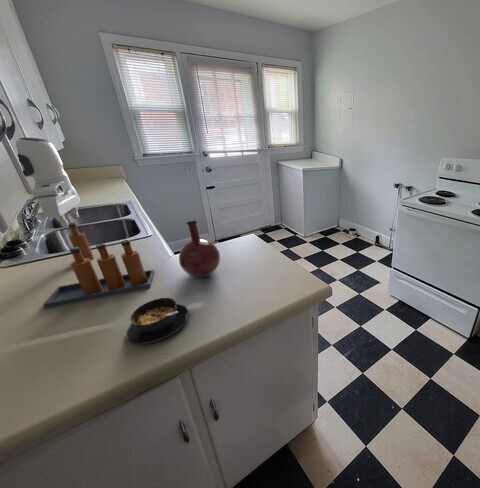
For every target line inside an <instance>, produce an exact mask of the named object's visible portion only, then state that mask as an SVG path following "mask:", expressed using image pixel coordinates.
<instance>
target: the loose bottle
mask: <svg viewBox="0 0 480 488" xmlns="http://www.w3.org/2000/svg"><path fill="white" fill-rule="evenodd" d="M68 223H69V222H68ZM67 227H68V228H69V231H70V232H71V234H69V235H68V238H69V241H70V243H71V245H72V248H74V247H79V248H80V250H81V254H82V256H83V258H89V259H90V261H92V260H94V259H95V256H94V254H93V252H92V249H91V246H90V244H89V242H88V240H87V238H86V235H85V232H82V231H81V232H79V229H78V225H77V223H76V222H70V223H69V225H68V226H67Z"/></svg>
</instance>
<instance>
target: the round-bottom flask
mask: <svg viewBox="0 0 480 488" xmlns="http://www.w3.org/2000/svg"><path fill="white" fill-rule="evenodd" d="M186 225H187V227H188V232H189V235H190V236H189V237H190V239H191V241H188V242H187V243H186V244H184V245H183V247H182V248H181V249H180V251H179V255H178V263H179V266H180V268H181V269H182V270H183V272H184V273H186V274H187V275H189V276H191V277H195V278H202V277H207V276H210V275H211V274H213V273H214V272H215V271H216V270H217V268H218V267H219V265H220V262H221V254H220V251H219V249H218V247H217V246H216V245H215V244H214V243H213V242H211V241H209V240H207V239H201V238H200V233H199V229H198V222H197V220H191V221H188V222H186Z"/></svg>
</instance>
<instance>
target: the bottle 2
mask: <svg viewBox="0 0 480 488" xmlns="http://www.w3.org/2000/svg"><path fill="white" fill-rule="evenodd" d="M95 248H96V250H97V251H98V253H99V257H97V258H96V263H97V265H98V267H99V269H100V272H101V274H102V276H103V279H105V281H106V284H107V286H108V288H109V290H115V289H121V288H123V287H124V286H125V282H124V279H123V276H122V275H123V274H122V271H121V268H120V266H119V264H118V261H117V258H116V256H115V254H109V252H108V249H107V246H106V243H105V242H101V243H97V244H96V245H95Z"/></svg>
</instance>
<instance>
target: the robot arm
mask: <svg viewBox="0 0 480 488" xmlns="http://www.w3.org/2000/svg"><path fill="white" fill-rule="evenodd" d="M15 142H16V147H17V151H18V157H19V161H20V164H21V166H22V169H23V173H24V175H25V176H26V177H25V178H29V177H30V178H32V179H33V180H34V182H35V183H34V186H33V188H32V189H31V193H32V196H33V197H34V198H36V197H37V198H36V199H37V203H38V205H39V208H40V209H41V211H42V212H43V215H45V217H46V218H48V219H56V221H57V222H58V223H59V225H60V226H61V227H63V228H65V227H68V225H69V220H67V219H66V218H65V214H67V213H68V212H70V216H71V219H73V220H75V219H78V218H79V217H80V215H79V209H78V205H80V204H81V198H80V196H79V193H78V192H77V190H76V189H75V187H74V186H73V185H72V183H71V180H70V178H69V176H68V174H67V173H66V171H65V169H64V166H63V165H64V164H63V161H62V159H61V157H60V155H59V153H58V151H57V149H56V148H55V146H54V145H53V144H52V142H50V141H48V140H47V139H45V138H38V137H20V138H17V140H16V141H15ZM34 188H35V189H34Z"/></svg>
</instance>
